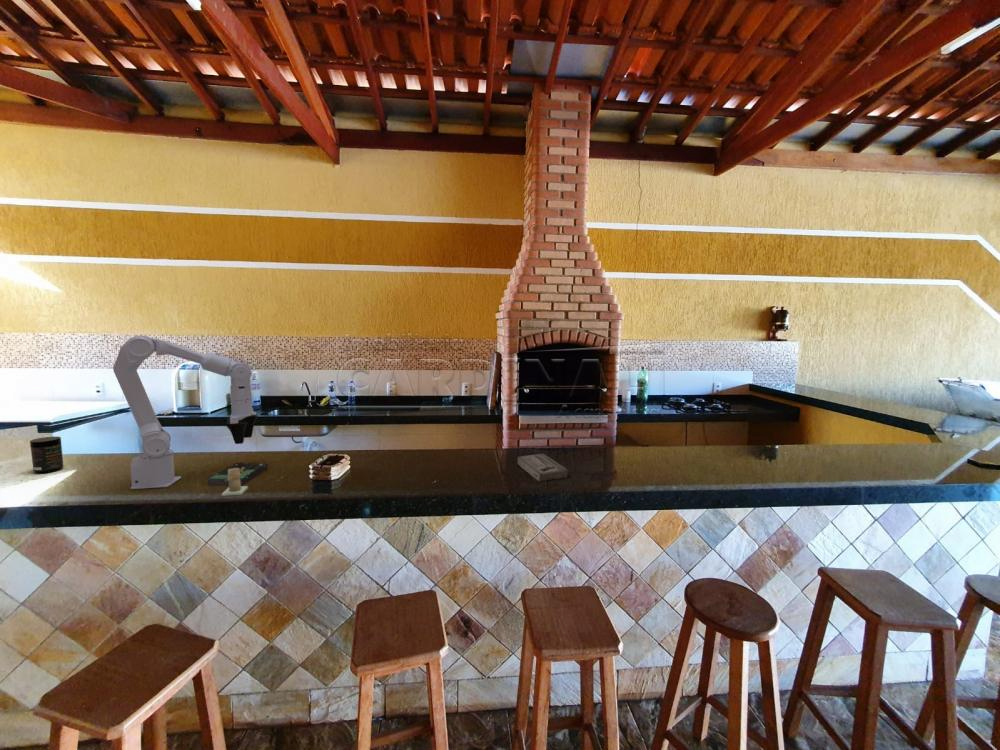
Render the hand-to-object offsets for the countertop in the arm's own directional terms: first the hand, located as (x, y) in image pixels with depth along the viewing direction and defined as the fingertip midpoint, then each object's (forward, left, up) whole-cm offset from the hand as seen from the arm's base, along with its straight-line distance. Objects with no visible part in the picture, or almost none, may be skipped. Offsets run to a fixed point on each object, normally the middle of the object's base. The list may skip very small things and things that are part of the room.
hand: (243, 440), depth 137 cm
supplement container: (-60, +10, -10) cm, 62 cm away
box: (+97, -19, -11) cm, 99 cm away
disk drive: (+1, -7, -11) cm, 13 cm away
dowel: (+4, -20, -9) cm, 22 cm away
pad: (+4, -20, -10) cm, 23 cm away
